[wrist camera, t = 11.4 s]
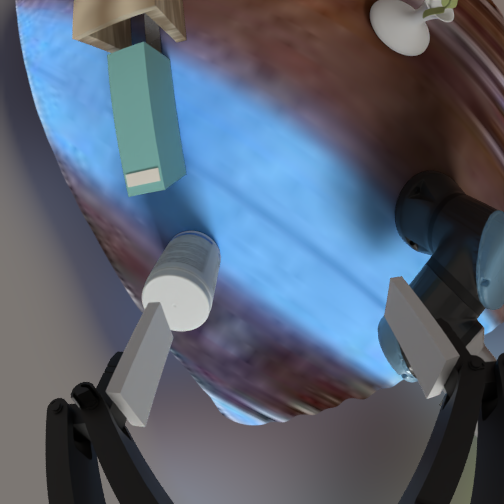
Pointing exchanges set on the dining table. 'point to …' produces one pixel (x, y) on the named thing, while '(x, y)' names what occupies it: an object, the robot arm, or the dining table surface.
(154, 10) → the tunnel
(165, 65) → the beige-capped teal block
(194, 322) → the supplement tub
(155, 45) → the rail
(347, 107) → the dining table surface
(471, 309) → the robot arm
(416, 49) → the flower in vase
